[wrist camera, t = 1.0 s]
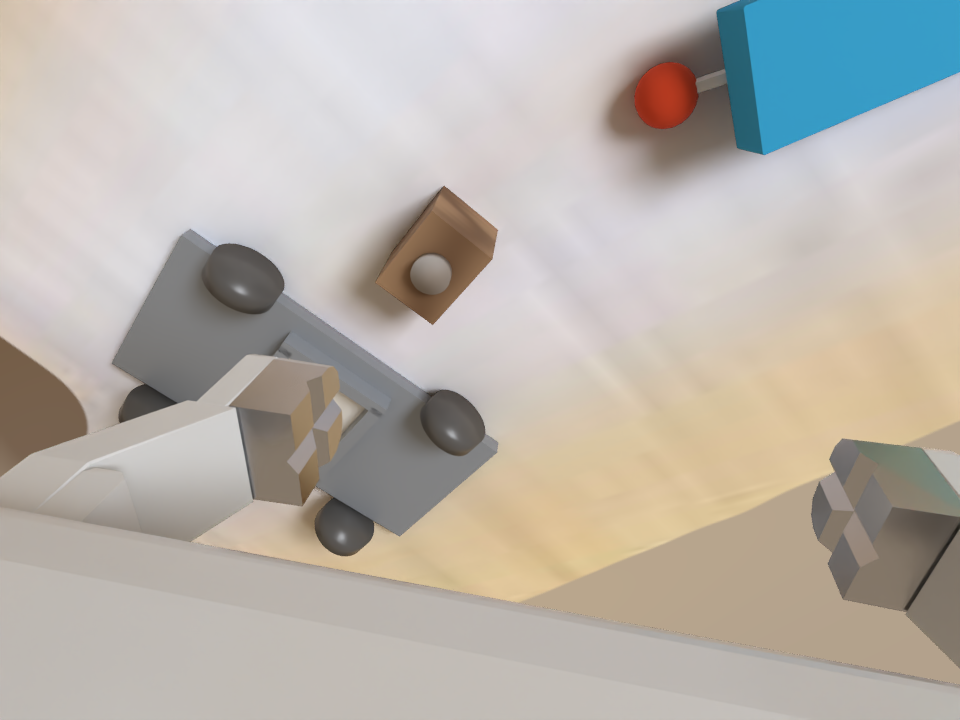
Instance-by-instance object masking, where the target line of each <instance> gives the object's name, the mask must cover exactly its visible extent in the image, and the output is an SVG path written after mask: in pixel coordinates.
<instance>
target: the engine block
mask: <svg viewBox="0 0 960 720" xmlns="http://www.w3.org/2000/svg"><path fill="white" fill-rule="evenodd" d="M497 231H498V230H497V229H496V228H495V227H494V226H493V225H491V224H490V223H489V222H488V221H487V220H485V219H484V218H483V217H482V216H480V215H479V214H478V213H477V212H476V211H474V210H473V209H472V208H471V207H469V206H468V205H467V204H466V203H465V202H463V201H462V200H461V199H460V198H459V197H457V196H456V195H455V194H454V193H452V192H451V191H450V190H449V189H448V188H446V187H445V186H443V188H442V189H441V190H440V192H439V193H438V194H437V195H436V197H435V198H434V199H433V200H432V202H431V203H430V204H429V206H428V207H427V208H426V209H425V211H424V212H423V213H422V214H421V216H420V217H419V218H418V220H417V221H416V222H415V223H414V225H413V226H412V227H411V228H410V230H409V231H408V232H407V234H406V235H405V236H404V237H403V239H402V240H401V241H400V242H399V244H398V245H397V246H396V248H395V249H394V250H393V251H392V253H391V255H390V257H389V258H388V260H387V262H386V264H385V265H384V267H383V269H382V271H381V273H380V274H379V276H378V278H377V280H376V282H375V283H376V284H378V285H379V286H380V287H382V288H383V289H384V290H386V291H387V292H389V293H390V294H391V295H393V296H394V297H395V298H397V299H398V300H399V301H401V302H402V303H404V304H405V305H406V306H408V307H409V308H410V309H412V310H413V311H414V312H416V313H417V314H419V315H420V316H421V317H423V318H424V319H425V320H427V321H428V322H429V323H431V324H432V325H433V324H434V323H435V322H436V321H437V320H438V319H439V318H440V316H441V315H442V314H443V313H444V312H445V311H446V310H447V309H448V308H449V306H450V305H451V304H452V303H453V302H454V301H455V300H456V299H457V298H458V296H459V295H460V294H461V293H462V292H463V291H464V290H465V289H466V288H467V287H468V285H469V284H470V283H471V282H472V281H473V280H474V279H475V278H476V277H477V275H478V274H479V273H480V272H481V271H482V270H483V269H484V268H485V267H486V265H487V264H488V263H489V262H490V261H491V260H492V258H493V253H494V247H495V242H496V237H497Z"/></svg>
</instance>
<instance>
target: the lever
mask: <svg viewBox="0 0 960 720" xmlns="http://www.w3.org/2000/svg"><path fill="white" fill-rule="evenodd" d="M716 13H717V20H718V26H719V33H720V39H721V46H722V52H723V59H724V65H725V69H723V70H720V71H717V72H714V73H711V74H708V75H705V76H702V77H699V78H695V75H694V74H693V73H692V72H691V70H690V69H689V68H687V67H686V66H684V65H682V64H679V63H674V62H668V63H662V64H659V65H657V66H655V67H653V68H651V69H650V70H648V71H647V72H646V73H645V74H644V75H643V76H642V78H641V79H640V81H639V83H638V85H637V87H636V91H635V96H634V97H635V107H636V110H637V112H638V115H639V116H640V118H641V119H642V120H643V121H644V122H645V123H646V124H647V125H649V126H651V127H654V128H659V129H666V128H672V127H674V126H676V125H679V124H681V123H682V122H683V121H684V120H686V119H687V118H688V117H689V116H690V114H691V113H692V112H693V110H694V108H695V106H696V103H697V99H698V93H701V92H704V91H707V90H710V89H713V88H716V87H719V86H722V85H725V84H727V85H728V92H729V98H730V105H731V111H732V118H733V124H734V131H735V137H736V144H737V148H738V149H742V150H746V151H750V152H754V153H759V154H763V155H766V154H768V153H770V152H773V151H775V150H777V149H780V148H782V147H784V146H787V145H789V144H791V143H794V142H796V141H798V140H801V139H803V138H806V137H808V136H810V135H813V134H815V133H817V132H820V131H822V130H824V129H827V128H829V127H831V126H834V125H836V124H838V123H841V122H843V121H846V120H848V119H850V118H853V117H855V116H857V115H860V114H862V113H864V112H867V111H869V110H871V109H874V108H876V107H878V106H881V105H883V104H886V103H888V102H890V101H893V100H895V99H897V98H900V97H902V96H904V95H907V94H909V93H911V92H914V91H916V90H918V89H921V88H923V87H926V86H928V85H930V84H933V83H935V82H937V81H940V80H942V79H944V78H947V77H949V76H951V75H954V74H956V73H958V72H960V0H740V1H737V2H735V3H733V4H730V5H728V6H726V7H723V8H721V9H719V10H717V12H716Z"/></svg>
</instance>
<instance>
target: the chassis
mask: <svg viewBox="0 0 960 720" xmlns="http://www.w3.org/2000/svg"><path fill="white" fill-rule="evenodd" d="M283 290H284V279H283V277H282V275H281V273H280V271H279V270H278V269H277V267H276V266H275V265H274V264H273V263H272V262H271V261H270V260H269V259H267V258H266V257H265V256H263V255H262V254H260V253H258V252H257V251H255V250H253V249H251V248H248V247H245V246H242V245H238V244H222V245H219V246H218V247H216V246H214V245H213V244H211V243H210V242H208V241H207V240H205V239H204V238H203V237H201V236H200V235H198V234H197V233H195V232H194V231H192V230H191V229H190V230H188V231H187V232H185V233H184V234H182V235H181V237H180V239H179V241H178V242H177V244H176V246H175V248H174V250H173V252H172V253H171V255H170V257H169V259H168V261H167V263H166V264H165V266H164V268H163V270H162V272H161V274H160V275H159V277H158V279H157V281H156V283H155V285H154V286H153V288H152V290H151V292H150V294H149V296H148V297H147V299H146V301H145V303H144V305H143V307H142V308H141V310H140V312H139V314H138V316H137V318H136V319H135V321H134V323H133V325H132V327H131V329H130V330H129V332H128V334H127V336H126V338H125V340H124V342H123V343H122V345H121V347H120V349H119V351H118V353H117V354H116V356H115V358H114V360H113V362H112V364H114V365H115V366H117V367H119V368H120V369H122V370H124V371H125V372H127V373H129V374H130V375H132V376H134V377H135V378H137V379H139V380H140V381H142V382H144V383H145V384H144V385H141V386H138V387H136V388H135V389H133V390H132V391H131V392H130V393H129V395H128V396H127V398H126V400H125V401H124V403H123V405H122V407H121V408H120V411H119V422H120V423H123V422H126V421H129V420H132V419H135V418H137V417H140V416H143V415H146V414H149V413H152V412H155V411H158V410H161V409H164V408H167V407H170V406H172V405H175V404H178V403H181V402H184V401H187V400H189V401H198V400H199V399H200V398H201V397H202V396H203V395H204V394H205V393H206V392H207V391H208V390H209V389H210V388H212V387H213V386H214V385H215V384H216V383H217V382H218V381H219V380H220V379H221V378H222V377H223V376H224V375H226V374H227V373H228V372H229V371H230V370H231V369H232V368H233V367H234V366H235V365H236V364H237V363H238V362H240V361H241V360H242V359H243V358H244V357H245V356H246V355H249V354H258V355H266V356H274V357H278V358H286V359H292V360H298V361H304V362H310V363H317V364H323V365H329V366H334V367H335V369H336V370H337V371H338V375H339V384H340V389H339V391H338V392H337V394H336V395H335V397H334V398H333V399H334V401H335V402H336V403H337V405H338V406H339V407H340V408H341V410H342V434H341V438H340V441H339V445H338V448H337V451H336V453H335V454H334V456H333V458H332V460H331V461H330V462H329V463H327V464H325V465H323V466H321V467H319V468H318V469H319V481H318V482H317V484H316V487H318V488H320V489H321V490H323V491H325V492H326V493H328V494H330V495H331V496H333V497H334V498H332V499H331V500H330V501H329V502H328V503H327V504H326V505H325V506H324V507H323V508H322V509H321V510H320V511H319V512H318V514H317V516H316V518H315V531H316V534H317V537H318V539H319V540H320V542H321V543H322V545H323V546H324V547H325V548H326V549H328V550H329V551H330V552H332V553H334V554H336V555H340V556H351V555H354V554H356V553H357V552H358V551H359V550H361V549H362V548H363V547H364V546H365V545H366V544H367V543H368V542H369V541H370V540H371V538H372V536H373V533H374V523H373V521H375V522H376V523H378V524H380V525H381V526H383V527H385V528H386V529H388V530H390V531H391V532H393V533H395V534H396V535H398V536H401V535H402V534H403V533H404V532H405V531H407V530H408V529H409V528H410V527H411V526H412V525H413V524H415V523H416V522H417V521H418V520H419V519H420V518H422V517H423V516H424V515H425V514H426V513H427V512H429V511H430V510H431V509H432V508H433V507H434V506H436V505H437V504H438V503H439V502H440V501H441V500H442V499H444V498H445V497H446V496H447V495H448V494H449V493H451V492H452V491H453V490H454V489H455V488H456V487H458V486H459V485H460V484H461V483H462V482H463V481H464V480H466V479H467V478H468V477H469V476H470V475H471V474H473V473H474V472H475V471H476V470H477V469H478V468H480V467H481V466H482V465H483V464H484V463H485V462H487V461H488V460H489V459H490V458H491V457H492V456H493V455H495V454H496V453H497V449H498V442H496V441H495V440H493V439H492V438H491V437H489V436H488V435H486V434H485V426H484V423H483V420H482V418H481V416H480V414H479V413H478V411H477V410H476V409H475V407H474V406H473V405H472V404H471V403H470V402H469V401H468V400H467V399H465V398H464V397H463V396H461V395H459V394H458V393H455V392H453V391H450V390H441V391H438V392H437V393H436V394H435V395H434V396H433V397H432V396H430V395H429V394H427V393H426V392H424V391H423V390H421V389H420V388H419V387H417V386H416V385H414V384H413V383H411V382H410V381H408V380H407V379H406V378H404V377H403V376H401V375H400V374H398V373H397V372H396V371H394V370H393V369H391V368H390V367H388V366H387V365H385V364H384V363H383V362H381V361H380V360H378V359H377V358H375V357H374V356H372V355H371V354H370V353H368V352H367V351H365V350H364V349H362V348H361V347H360V346H358V345H357V344H355V343H354V342H352V341H351V340H349V339H348V338H347V337H345V336H344V335H342V334H341V333H339V332H338V331H336V330H335V329H334V328H332V327H331V326H329V325H328V324H326V323H325V322H324V321H322V320H321V319H319V318H318V317H316V316H315V315H313V314H312V313H311V312H309V311H308V310H306V309H305V308H303V307H302V306H300V305H299V304H298V303H296V302H295V301H293V300H292V299H290V298H289V297H288V296H286V295H285V294H283V293H282V292H283Z"/></svg>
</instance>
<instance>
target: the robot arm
mask: <svg viewBox="0 0 960 720" xmlns="http://www.w3.org/2000/svg"><path fill="white" fill-rule="evenodd" d="M339 389H340V384H339V375H338V371H337V370H336V369H335V367H334V366H329V365H323V364H317V363H310V362H304V361H298V360H292V359H286V358H278V357H274V356H266V355H258V354H249V355H246V356H245V357H244V358H243V359H242V360H241V361H240V362H238V363H237V364H236V365H235V366H234V367H233V368H232V369H231V370H230V371H229V372H228V373H227V374H226V375H224V376H223V377H222V378H221V379H220V380H219V381H218V382H217V383H216V384H215V385H214V386H213V387H212V388H210V389H209V390H208V391H207V392H206V393H205V394H204V395H203V396H202V397H201V398H200V399H199V400H198V401H189V400H187V401H184V402H181V403H178V404H175V405H172V406H170V407H167V408H164V409H161V410H158V411H155V412H152V413H149V414H146V415H143V416H140V417H137V418H135V419H132V420H129V421H126V422H123V423H120V424H117V425H114V426H111V427H108V428H105V429H102V430H100V431H97V432H94V433H91V434H88V435H85V436H82V437H79V438H76V439H73V440H70V441H67V442H64V443H62V444H59V445H56V446H53V447H50V448H47V449H44V450H41V451H38V452H35V453H32V454H30V455H29V456H28V457H27V458H25V459H24V460H23V461H21V462H20V463H19V464H17V465H16V466H14V467H13V468H12V469H11V470H9V471H8V472H7V473H5V474H4V475H3V476H1V477H0V720H960V685H959V684H953V683H948V682H943V681H938V680H932V679H927V678H921V677H915V676H911V675H905V674H900V673H894V672H889V671H884V670H878V669H873V668H868V667H862V666H857V665H852V664H846V663H841V662H835V661H830V660H824V659H819V658H813V657H809V656H803V655H798V654H793V653H787V652H782V651H776V650H771V649H766V648H760V647H755V646H750V645H744V644H739V643H733V642H728V641H722V640H717V639H712V638H707V637H701V636H696V635H690V634H685V633H679V632H674V631H669V630H664V629H658V628H653V627H647V626H641V625H636V624H631V623H625V622H620V621H614V620H609V619H603V618H598V617H593V616H587V615H582V614H576V613H571V612H565V611H560V610H555V609H549V608H544V607H538V606H532V605H527V604H522V603H516V602H511V601H506V600H500V599H495V598H489V597H484V596H478V595H473V594H467V593H462V592H457V591H451V590H446V589H441V588H435V587H430V586H424V585H419V584H414V583H408V582H403V581H397V580H392V579H387V578H381V577H376V576H370V575H365V574H360V573H354V572H349V571H344V570H338V569H333V568H327V567H322V566H317V565H311V564H306V563H300V562H295V561H290V560H284V559H279V558H273V557H268V556H263V555H257V554H252V553H247V552H241V551H236V550H230V549H225V548H220V547H214V546H209V545H203V544H198V543H193V542H191V541H192V540H194V539H195V538H197V537H199V536H200V535H202V534H203V533H205V532H206V531H208V530H210V529H211V528H213V527H214V526H216V525H217V524H219V523H221V522H222V521H224V520H225V519H227V518H228V517H230V516H232V515H233V514H235V513H236V512H238V511H239V510H241V509H243V508H244V507H246V506H247V505H249V504H250V503H252V502H253V499H255V500H262V501H269V502H276V503H283V504H290V505H297V506H303V505H304V503H305V502H306V500H307V498H308V497H309V495H310V494H311V492H312V490H313V489H314V487H315V486H316V484H317V482H318V481H319V469H318V468H319V467H321V466H323V465H325V464H327V463H329V462H330V461H331V460H332V458H333V456H334V454H335V453H336V451H337V448H338V445H339V441H340V438H341V434H342V410H341V408H340V407H339V406H338V405H337V403H336V402H335V401H334V399H333V398H334V397H335V395H336V394H337V392H338V391H339ZM829 460H830V462H831V465H832V467H833V469H834V471H835V472H834V473H832V474H831V475H829V476H827V477H826V478H824V479H823V480H821V481H820V482H819V484H818V486H817V489H816V491H815V494H814V497H813V502H812V513H811V516H812V523H813V528H814V531H815V534H816V536H817V539H818V541H819V542H820V543H822V544H823V545H824V546H825V547H826V548H827V549H829V550H830V551H831V552H832V556H831V558H830V560H829V562H828V565H829V568H830V570H831V572H832V575H833V577H834V579H835V582H836V584H837V587H838V589H839V591H840V594H841V596H842V598H843V600H848V601H853V602H858V603H863V604H868V605H873V606H878V607H884V608H888V609H893V610H899V611H904V612H907V613H906V616H907V617H908V618H909V619H910V620H911V621H912V622H913V623H914V624H915V625H916V626H918V628H920V630H921V631H922V632H923V633H924V634H925V635H926V636H927V637H929V638H930V639H931V640H932V642H934V643H935V644H936V645H937V646H938V647H939V648H940V649H941V650H942V651H943V652H944V653H945V654H946V655H947V656H948V657H949V658H950V659H951V660H952V661H953V662H954V663H955V664H956V665H957V666H958V667H959V668H960V455H958V454H956V453H954V452H952V451H949V450H939V449H930V448H920V447H909V446H900V445H892V444H883V443H875V442H867V441H858V440H850V439H842V440H841V441H840V442H839V443H838V444H837V445H836V446H835V448H834V450H833V452H832V454H831V457H830V459H829Z"/></svg>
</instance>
